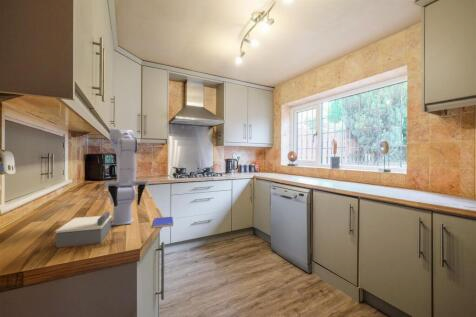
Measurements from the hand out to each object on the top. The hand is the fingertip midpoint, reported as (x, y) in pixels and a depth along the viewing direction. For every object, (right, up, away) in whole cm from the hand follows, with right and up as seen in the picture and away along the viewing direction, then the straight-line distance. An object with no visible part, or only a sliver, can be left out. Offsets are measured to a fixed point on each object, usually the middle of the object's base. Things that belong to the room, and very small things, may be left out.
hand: (127, 205), depth 81 cm
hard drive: (+9, -12, +14) cm, 20 cm away
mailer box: (-12, -10, -4) cm, 17 cm away
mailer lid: (-12, -6, -4) cm, 14 cm away
